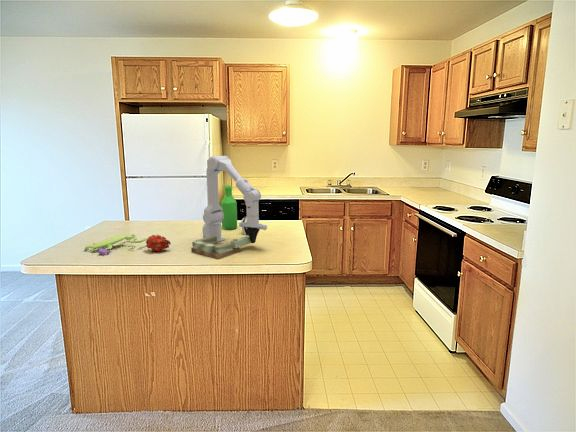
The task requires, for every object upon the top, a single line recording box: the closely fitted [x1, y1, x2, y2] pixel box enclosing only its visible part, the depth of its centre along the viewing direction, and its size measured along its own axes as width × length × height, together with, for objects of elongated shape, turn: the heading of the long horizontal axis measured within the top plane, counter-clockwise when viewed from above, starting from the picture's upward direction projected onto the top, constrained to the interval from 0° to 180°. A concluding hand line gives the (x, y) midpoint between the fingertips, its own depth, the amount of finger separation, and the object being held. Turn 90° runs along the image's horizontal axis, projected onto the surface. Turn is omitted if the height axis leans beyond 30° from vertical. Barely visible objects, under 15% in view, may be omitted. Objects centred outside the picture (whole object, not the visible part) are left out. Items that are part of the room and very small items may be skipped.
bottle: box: [220, 185, 238, 231], centre depth 224 cm, size 9×9×25 cm
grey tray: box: [191, 236, 241, 260], centre depth 182 cm, size 18×14×5 cm
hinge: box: [240, 216, 248, 236], centre depth 219 cm, size 17×5×10 cm, turn 169°
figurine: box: [84, 233, 149, 256], centre depth 188 cm, size 18×27×6 cm
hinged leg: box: [230, 235, 252, 248], centre depth 186 cm, size 14×3×4 cm, turn 143°
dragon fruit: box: [145, 234, 172, 252], centre depth 184 cm, size 8×8×12 cm
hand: (253, 242), depth 187 cm, fingers closed
